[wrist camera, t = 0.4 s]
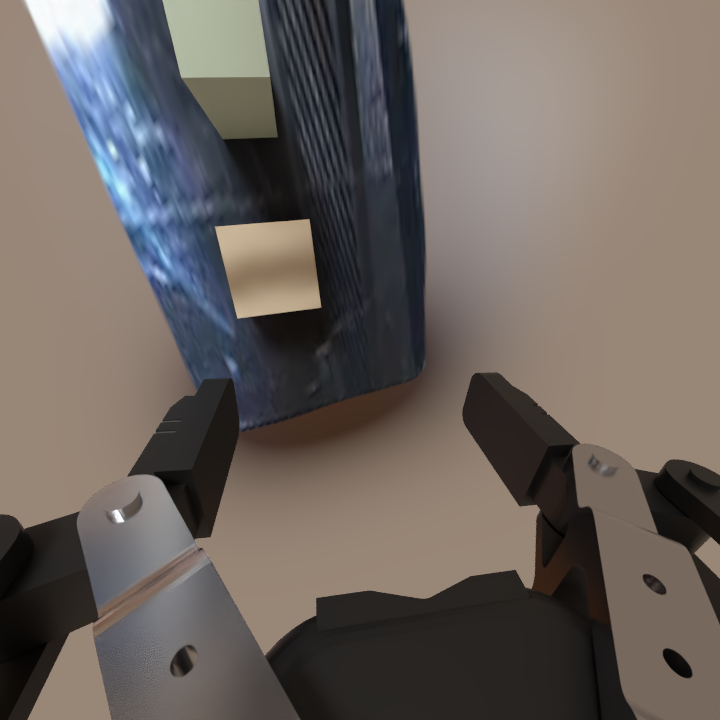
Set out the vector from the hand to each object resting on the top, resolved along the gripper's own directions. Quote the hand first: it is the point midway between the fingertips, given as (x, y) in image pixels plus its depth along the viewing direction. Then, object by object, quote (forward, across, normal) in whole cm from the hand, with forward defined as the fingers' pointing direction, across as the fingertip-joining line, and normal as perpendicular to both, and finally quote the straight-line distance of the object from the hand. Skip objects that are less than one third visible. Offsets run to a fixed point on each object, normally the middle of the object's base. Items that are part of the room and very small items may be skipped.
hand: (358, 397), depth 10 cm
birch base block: (+27, +5, +1) cm, 28 cm away
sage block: (+29, +7, -12) cm, 32 cm away
